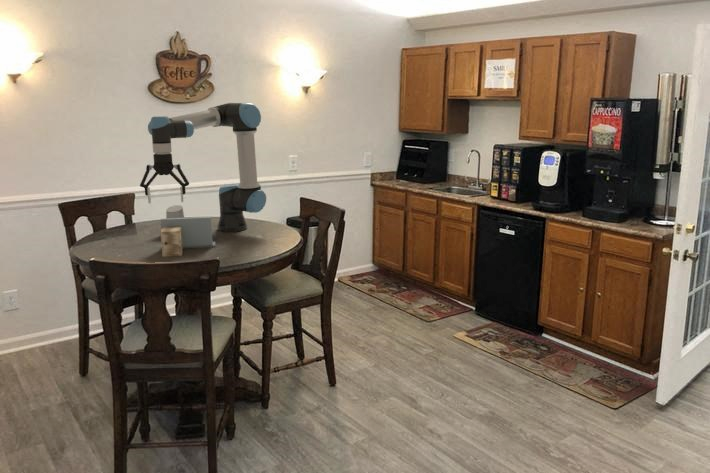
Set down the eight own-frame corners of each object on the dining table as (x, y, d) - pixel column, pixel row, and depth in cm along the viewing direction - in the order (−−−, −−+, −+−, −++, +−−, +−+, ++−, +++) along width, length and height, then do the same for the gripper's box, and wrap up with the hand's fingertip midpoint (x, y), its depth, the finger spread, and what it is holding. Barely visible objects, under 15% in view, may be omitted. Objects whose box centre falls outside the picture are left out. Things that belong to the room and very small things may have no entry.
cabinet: (183, 249, 266) (181, 226, 264) (181, 256, 256) (179, 231, 253) (165, 250, 265) (163, 227, 262) (162, 257, 254) (160, 232, 251)
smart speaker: (162, 234, 295) (160, 207, 292) (174, 230, 304) (172, 204, 300) (178, 236, 292) (176, 208, 289) (189, 232, 300) (187, 205, 297)
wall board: (215, 243, 277) (213, 214, 273) (214, 246, 271) (213, 217, 268) (162, 246, 272) (159, 217, 269) (160, 249, 266) (158, 219, 263)
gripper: (193, 152, 255) (196, 199, 260) (133, 153, 250) (137, 201, 255) (192, 153, 248) (195, 202, 253) (130, 154, 243) (134, 204, 248)
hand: (166, 202), depth 254 cm, fingers open, 13 cm apart
